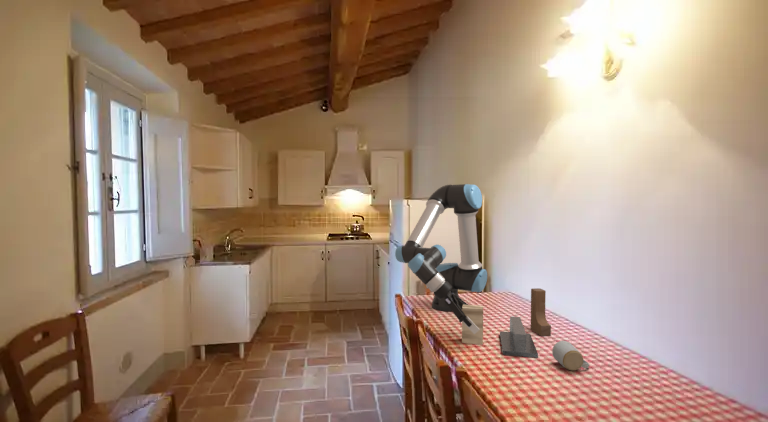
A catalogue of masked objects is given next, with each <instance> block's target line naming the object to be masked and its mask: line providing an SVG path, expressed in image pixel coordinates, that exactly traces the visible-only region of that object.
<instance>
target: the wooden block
mask: <svg viewBox="0 0 768 422" xmlns="http://www.w3.org/2000/svg"><path fill="white" fill-rule="evenodd" d="M546 317H547V316H546V290H544V289H543V288H535V287H534V288H530V330H531V331H532V332H534V333H536V334H537V335H539V336H541V337H549V336H552V325H551V324H550V323H549V322H548V321H547V318H546Z"/></svg>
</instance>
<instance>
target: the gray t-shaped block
mask: <svg viewBox="0 0 768 422" xmlns="http://www.w3.org/2000/svg"><path fill="white" fill-rule="evenodd" d="M523 324H524V323H523V321H522V318H521V317H520V316H509V331H505V330H504V331H503V330H499V338H500V339H501V340H500V346H501V345H502V346H501V351H502V355H503V356H510V357H512V356H513V357H522V356H523V357H524V358H533V357H534V358H535V359H538V358H539V353H538V350H537V347H536V345H535V343H534V340H533V337H532V334H531V333H527V332H526V331H525V327H524V325H523Z"/></svg>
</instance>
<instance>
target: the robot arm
mask: <svg viewBox="0 0 768 422" xmlns="http://www.w3.org/2000/svg"><path fill="white" fill-rule="evenodd" d="M482 202H483V196H482V192H481V189H480V188H479V187H478V185H476V184H470V183H465V184H462V183H461V184H445V185H443V186H441V187H438V189H436V190H434V192H433V193H432V194H431V195H430V196H429V198H428V199H427V201H426V203H425V208H424V210H423V212H422V213H421V215H420V217H419V219H418V220H417V222H416V225H415V226H414V228H413V230H412V232H411V233H410V234H409V236H408V239H407V241H406V242H405V244H404V245H399V246H397V248H396V249H395V252H394V253H395V255H394V257H395V259H396V261H397V262H399V263H403V264H407V266H408V268H409V269H410V270H411V272H412V273H413V274H414V275H415V276H416V277H417V278H418V279H419V281H421V282H422V283H423V284H424V285H425V286H426V289H427V290H430V292H432V293H433V299H432V302H431V308H433V309H434V310H437V311H441V312H442V311H443V312H452V313H453V314H454V316H455V317H456V319H458V322H459V323H460V324H462V322H463V323H464V324H465V325H466V326H467V327H468V328H469V329H470V330H471V331H472V332H473V333H474V334H475V333H476V332H478V331H479V330H480V329H479V328H478V327H477V326H476V325H475V324H474V323H473V322H472V321H471V320H470V319H469V317H468V316H467V317H466V315H465V314H464V312H463V311H462V306H463V305H470V304H469V303H467V302H465V301H464V300H463V299H462V298H461V297H460V296H459V291H460V290H461V291H465V292H471V293H480V292H482V291H483V290H484V289H485V287H486V285H487V281H488V271H487V269H486V268H483V263H481V262H480V261H479V260H480V259H479V245H478V234H477V233H478V231H477V217H476V215H477V214H478V212H479V209H481V207H482V205H483V203H482ZM446 209H453V213H454V214H455V215H456V216H457V225H458V237H459V239H458V240H459V241H458V242H459V249H460V250H459V252H460V261H461V262H460V263H458V262H445V263H443V261H444V260H445V259H446V257H447V251H446V249H445V247H444V246H442V245H441V244H434V245H432V246H430V247H424V245H425V243H426V241H427V240H428V238H429V236H430V233H431V232H432V230H433V228H434V227H435V224H436V222H437V220H438V219H439V217H440V215H442V214H443V213H444V212H445V210H446Z"/></svg>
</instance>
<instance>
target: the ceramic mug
mask: <svg viewBox="0 0 768 422" xmlns="http://www.w3.org/2000/svg"><path fill="white" fill-rule="evenodd" d="M551 351H552V357H553V358H554V359H555V361H557V362H558V363H559V364H560V365H561V366H562V367H563V368H565V369H566V370H569V371H577V370H579V369H581V367H582V368H583V369H589V367H590V363H589V362H588V361H586V360H585V359H584V356H583V355H582V353H581V352H580V350H579V349H578V348H576V347H575V346H574V345H573V344H572V343H571V342H569V341H567V340H559V341H557V342H556V343H555V344H554V345H553V347H552V350H551Z"/></svg>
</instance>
